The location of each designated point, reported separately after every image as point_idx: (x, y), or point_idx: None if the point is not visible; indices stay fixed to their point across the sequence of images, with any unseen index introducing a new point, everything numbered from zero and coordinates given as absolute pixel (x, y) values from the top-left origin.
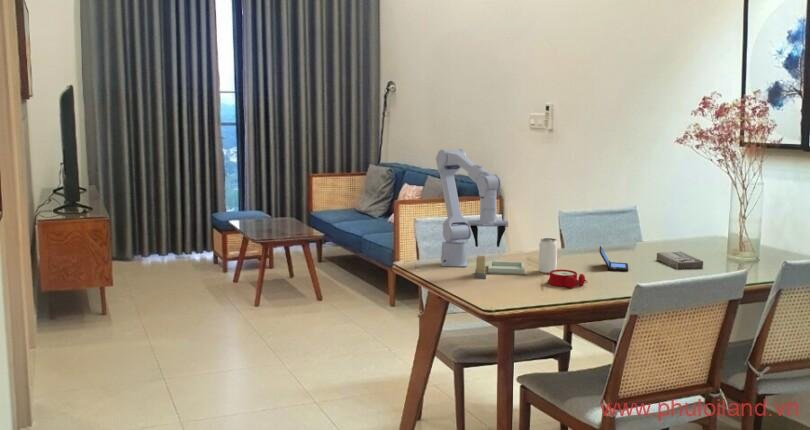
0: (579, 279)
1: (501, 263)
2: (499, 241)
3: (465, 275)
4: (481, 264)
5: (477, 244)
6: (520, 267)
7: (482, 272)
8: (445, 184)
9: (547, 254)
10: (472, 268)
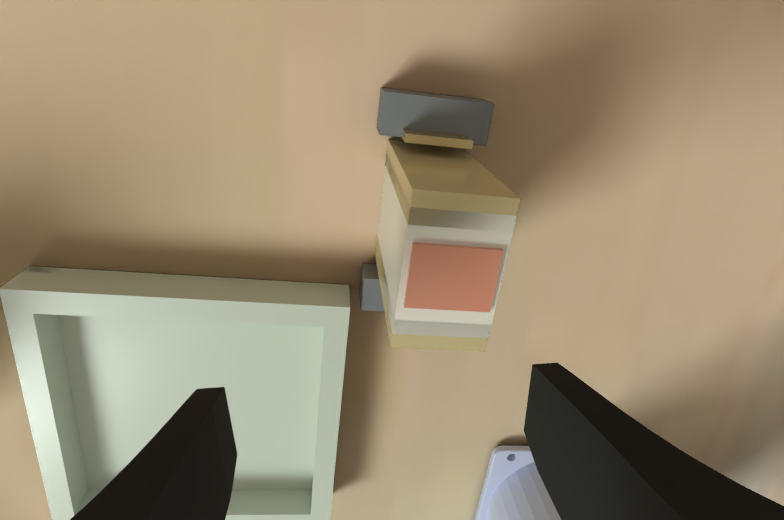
0: None
1: (239, 503)
2: (156, 446)
3: (541, 203)
4: (439, 170)
5: (554, 381)
6: (90, 458)
7: (416, 132)
8: None
9: None
10: (453, 421)
